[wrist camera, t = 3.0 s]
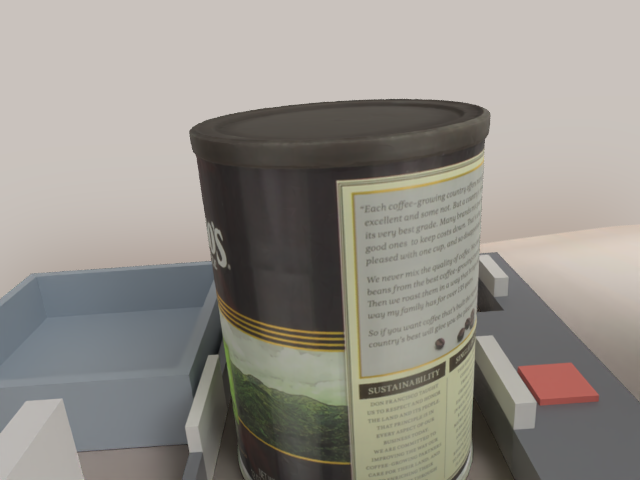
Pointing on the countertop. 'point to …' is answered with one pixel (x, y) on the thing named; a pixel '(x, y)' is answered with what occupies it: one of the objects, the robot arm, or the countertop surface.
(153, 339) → the tray
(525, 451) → the grey holder base
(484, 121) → the coffee can
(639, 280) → the countertop surface
